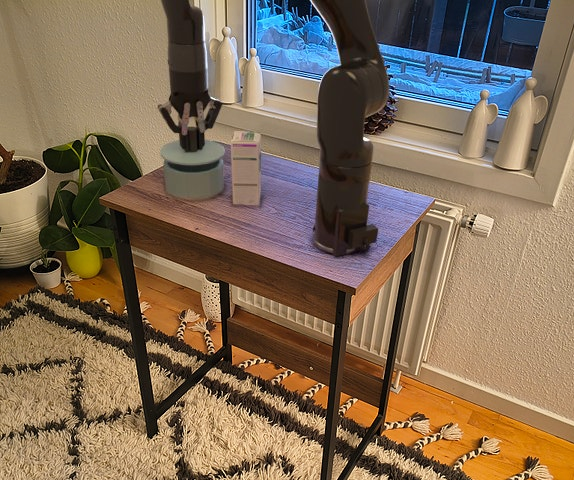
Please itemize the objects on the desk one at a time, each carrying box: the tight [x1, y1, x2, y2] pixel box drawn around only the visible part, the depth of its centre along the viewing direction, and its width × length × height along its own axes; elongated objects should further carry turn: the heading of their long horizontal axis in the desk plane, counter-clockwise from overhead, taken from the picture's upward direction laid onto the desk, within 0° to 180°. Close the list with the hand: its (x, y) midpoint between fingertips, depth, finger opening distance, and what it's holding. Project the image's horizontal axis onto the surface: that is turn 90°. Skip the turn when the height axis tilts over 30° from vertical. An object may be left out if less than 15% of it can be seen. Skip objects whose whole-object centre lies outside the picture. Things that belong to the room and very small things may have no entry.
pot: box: [163, 157, 225, 200], centre depth 127 cm, size 13×13×6 cm
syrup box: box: [230, 130, 262, 206], centre depth 120 cm, size 6×6×14 cm
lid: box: [159, 126, 226, 165], centre depth 122 cm, size 14×14×6 cm
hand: (192, 149), depth 123 cm, fingers closed on lid, 2 cm apart
